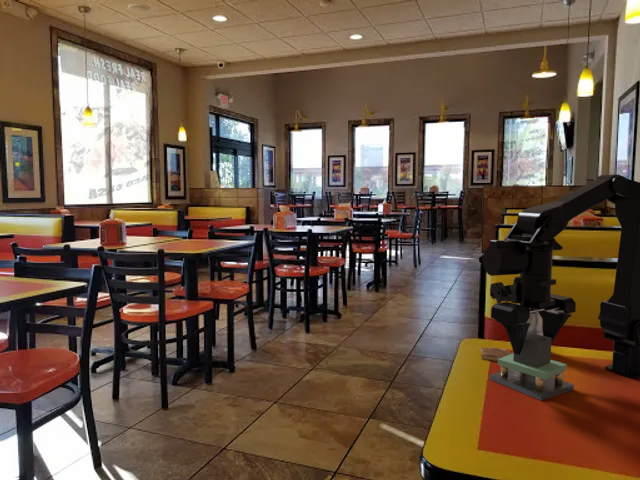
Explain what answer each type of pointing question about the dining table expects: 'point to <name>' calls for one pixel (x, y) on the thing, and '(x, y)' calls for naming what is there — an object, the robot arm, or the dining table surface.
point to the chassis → (532, 383)
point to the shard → (493, 353)
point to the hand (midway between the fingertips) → (532, 350)
